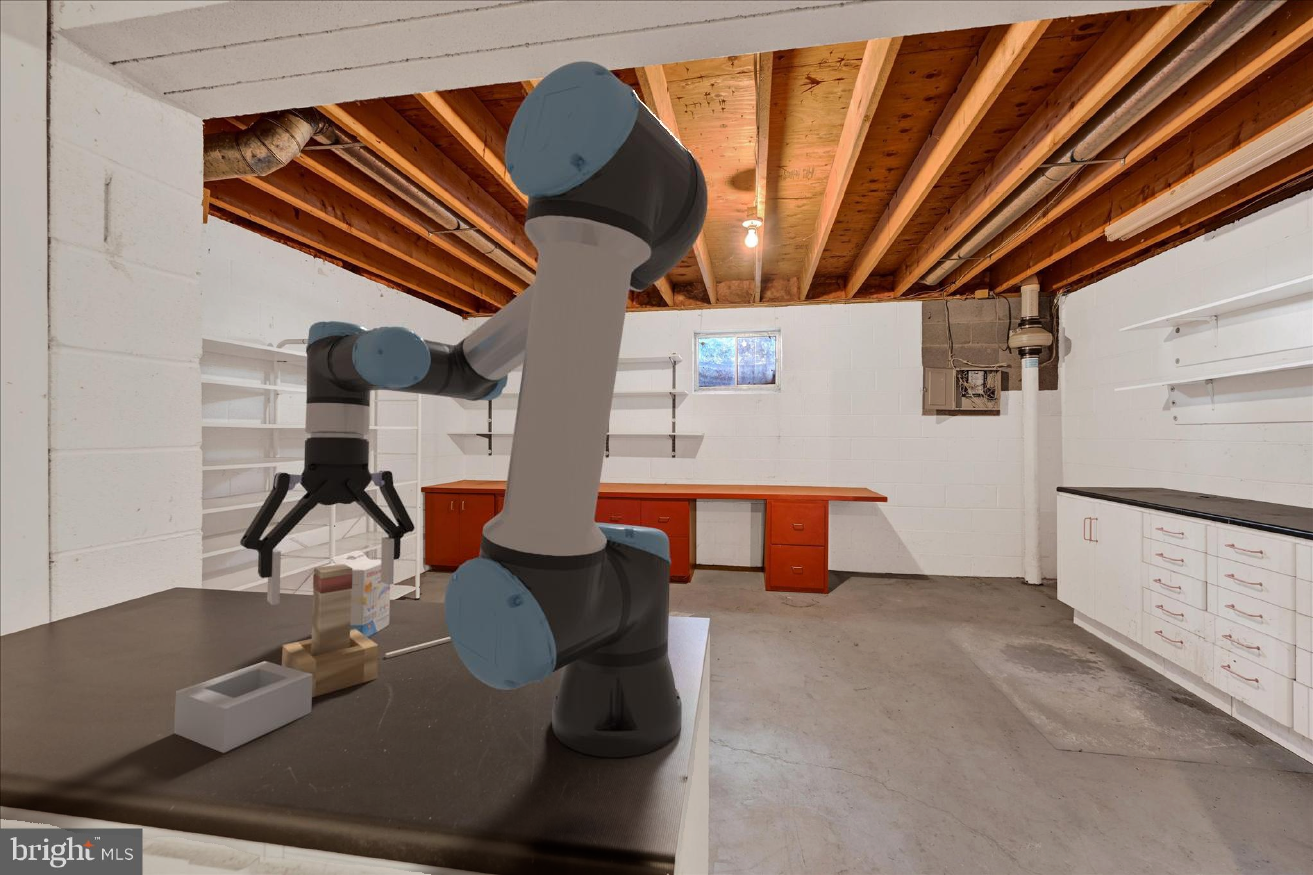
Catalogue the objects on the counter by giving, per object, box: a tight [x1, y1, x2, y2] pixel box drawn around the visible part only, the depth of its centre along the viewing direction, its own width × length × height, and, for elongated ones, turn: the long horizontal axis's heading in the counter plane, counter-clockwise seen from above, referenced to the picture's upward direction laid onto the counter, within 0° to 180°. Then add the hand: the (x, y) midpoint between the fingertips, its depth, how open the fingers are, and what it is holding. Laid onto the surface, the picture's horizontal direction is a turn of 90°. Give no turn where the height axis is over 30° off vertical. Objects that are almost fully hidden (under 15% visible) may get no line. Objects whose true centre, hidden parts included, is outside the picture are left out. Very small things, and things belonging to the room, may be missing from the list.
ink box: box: [322, 549, 391, 638], centre depth 88 cm, size 9×8×13 cm
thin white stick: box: [384, 636, 452, 659], centre depth 81 cm, size 1×10×1 cm, turn 138°
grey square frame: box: [173, 660, 313, 754], centre depth 59 cm, size 9×9×4 cm
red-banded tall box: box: [311, 564, 353, 657], centre depth 70 cm, size 4×4×15 cm
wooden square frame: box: [281, 629, 379, 698], centre depth 70 cm, size 9×9×4 cm
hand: (334, 592), depth 70 cm, fingers open, 13 cm apart
